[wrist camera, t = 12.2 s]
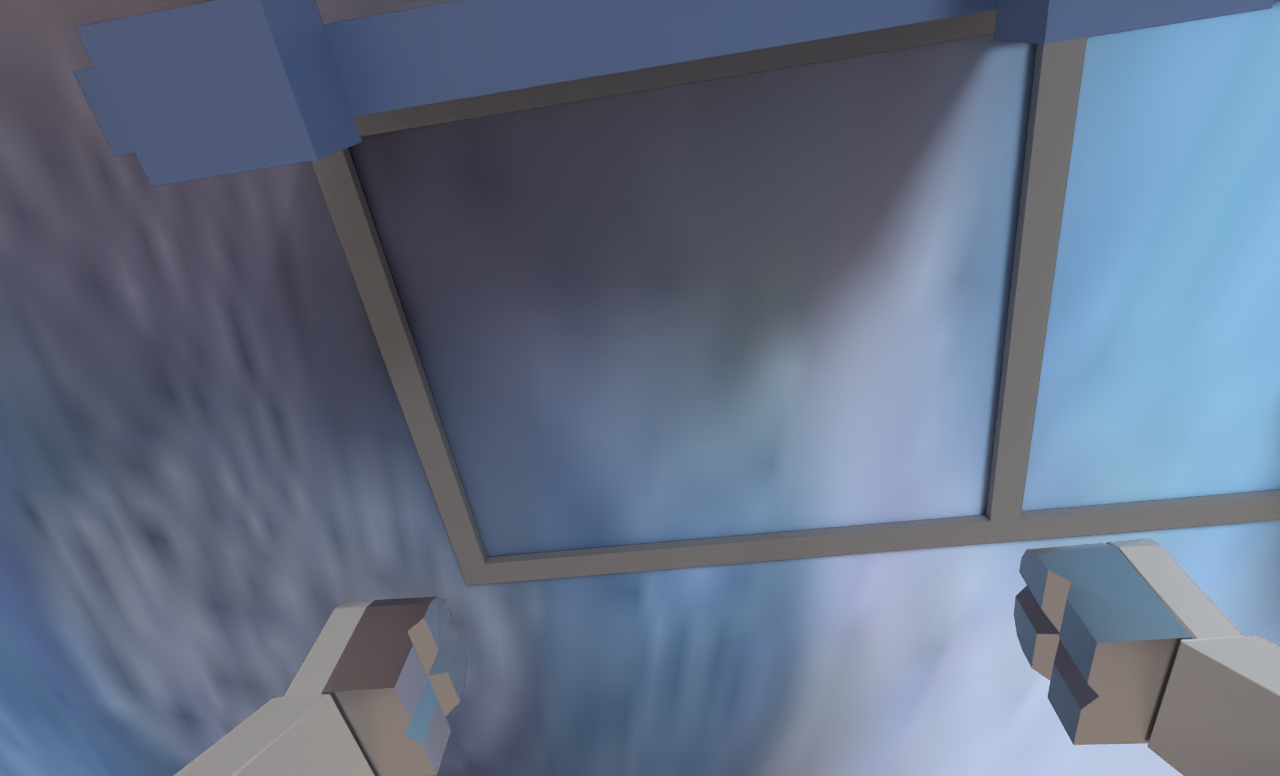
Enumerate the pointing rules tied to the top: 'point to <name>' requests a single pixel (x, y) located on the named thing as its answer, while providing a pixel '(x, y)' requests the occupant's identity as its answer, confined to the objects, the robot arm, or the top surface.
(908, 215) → the top surface
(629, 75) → the frame
